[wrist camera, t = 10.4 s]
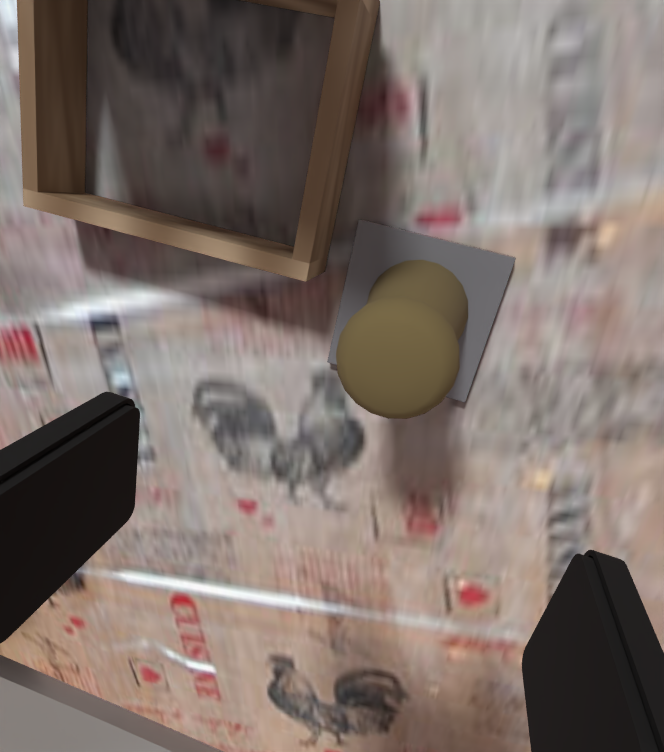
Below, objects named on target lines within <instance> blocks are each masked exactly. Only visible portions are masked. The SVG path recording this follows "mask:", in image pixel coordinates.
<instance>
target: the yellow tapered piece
mask: <svg viewBox="0 0 664 752" xmlns="http://www.w3.org/2000/svg"><path fill="white" fill-rule="evenodd" d="M467 319H468V299H467V296H466V293H465V291H464V288H463V285H462V284H461V283H460V281H459V280H458V279H457V278H456V276H455V275H454V274H453V273H452V272H451V271H449V270H448V269H446V268H445V267H443V266H441V265H440V264H438V263H434V262H430V261H426V260H409V261H404V262H401V263H399V264H396V265H394V266H391V267H390V268H389V269H387V270H386V271H385V272H384V273H383V274H382V275H380V276H379V277H378V278H377V280H376V282H375V283H374V285H373V287H372V288H371V290H370V292H369V297H368V301H367V304H366V305H365V306H364V307H363V308H362V309H360V310H359V311H358V312H357V313H356V314H354V315H353V316H352V317H351V318H350V319H349V321H348V322H347V324H346V326H345V327H344V329H343V331H342V332H341V334H340V337H339V341H338V346H337V350H336V361H337V371H338V375H339V378H340V380H341V382H342V385H343V387H344V389H345V391H346V392H347V393H348V394H349V395H350V397H351V398H352V399H353V400H354V401H355V402H356V403H357V404H358V405H360V406H361V407H363V408H364V409H366V410H367V411H369V412H370V413H373V414H376V415H379V416H382V417H386V418H395V419H407V418H411V417H414V416H418V415H421V414H425V413H426V412H428V411H429V410H431V409H432V408H434V407H435V406H437V405H438V404H439V403H440V402H441V401H442V400H443V399H444V398H445V396H446V395H447V394H448V393H449V391H450V390H451V389H452V387H453V386H454V383H455V380H456V377H457V374H458V372H459V369H460V362H459V343H458V340H459V338H460V337H461V335H462V333H463V331H464V328H465V325H466V322H467Z"/></svg>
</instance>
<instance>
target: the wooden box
mask: <svg viewBox="0 0 664 752" xmlns="http://www.w3.org/2000/svg"><path fill="white" fill-rule="evenodd" d="M240 1H246V2H251V3H257V4H262V5H268V6H273V7H279V8H284V9H290V10H295V11H301V12H306V13H312V14H317V15H323V16H328V17H334V18H335V20H334V25H333V31H332V37H331V42H330V48H329V53H328V59H327V65H326V70H325V76H324V82H323V87H322V93H321V99H320V104H319V110H318V116H317V121H316V127H315V133H314V138H313V144H312V150H311V155H310V161H309V166H308V172H307V178H306V183H305V189H304V195H303V200H302V206H301V212H300V217H299V223H298V229H297V234H296V240H295V246H294V247H293V246H290V245H286V244H282V243H278V242H274V241H270V240H266V239H262V238H259V237H255V236H251V235H247V234H243V233H239V232H235V231H231V230H228V229H224V228H220V227H216V226H212V225H208V224H204V223H200V222H197V221H193V220H189V219H185V218H181V217H177V216H173V215H169V214H166V213H162V212H158V211H154V210H150V209H146V208H142V207H139V206H135V205H131V204H127V203H123V202H119V201H115V200H111V199H108V198H104V197H100V196H96V195H92V194H88V193H85V157H86V85H87V13H88V0H17V17H18V48H19V79H20V110H21V141H22V172H23V203H24V206H26V207H29V208H33V209H37V210H41V211H44V212H48V213H52V214H55V215H59V216H63V217H67V218H70V219H74V220H78V221H82V222H85V223H89V224H93V225H96V226H100V227H104V228H108V229H111V230H115V231H119V232H123V233H126V234H130V235H134V236H137V237H141V238H145V239H149V240H152V241H156V242H160V243H164V244H167V245H171V246H175V247H178V248H182V249H186V250H190V251H193V252H197V253H201V254H205V255H208V256H212V257H216V258H219V259H223V260H227V261H231V262H234V263H238V264H242V265H246V266H249V267H253V268H257V269H260V270H264V271H268V272H272V273H275V274H279V275H283V276H287V277H290V278H294V279H298V280H301V281H305V282H307V281H308V280H310V279H312V278H314V277H316V276H317V275H319V274H321V273H323V272H325V268H326V263H327V258H328V253H329V248H330V244H331V239H332V234H333V229H334V224H335V219H336V214H337V209H338V204H339V200H340V195H341V190H342V185H343V180H344V175H345V170H346V165H347V160H348V156H349V151H350V146H351V141H352V136H353V131H354V126H355V121H356V116H357V112H358V107H359V102H360V97H361V92H362V87H363V82H364V77H365V73H366V68H367V63H368V58H369V53H370V48H371V43H372V38H373V33H374V29H375V24H376V19H377V14H378V9H379V4H380V1H379V0H240Z"/></svg>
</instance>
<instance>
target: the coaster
mask: <svg viewBox="0 0 664 752" xmlns="http://www.w3.org/2000/svg"><path fill="white" fill-rule="evenodd" d="M515 259H516V258H515V257H513V256H509V255H505V254H501V253H497V252H493V251H489V250H484V249H480V248H476V247H472V246H468V245H464V244H460V243H456V242H452V241H448V240H443V239H439V238H435V237H431V236H427V235H423V234H419V233H415V232H411V231H407V230H403V229H398V228H394V227H390V226H386V225H382V224H378V223H374V222H370V221H366V220H362V219H360V220H359V222H358V226H357V231H356V235H355V240H354V244H353V249H352V253H351V258H350V262H349V267H348V271H347V276H346V280H345V285H344V289H343V294H342V298H341V303H340V307H339V312H338V316H337V321H336V325H335V330H334V334H333V339H332V343H331V348H330V352H329V357H328V361H327V362H329V363H332V364H335V365H337V361H336V350H337V346H338V341H339V337H340V334H341V332H342V331H343V329H344V327H345V326H346V324H347V322H348V321H349V319H350V318H351V317H352V316H353V315H354V314H356V313H357V312H358V311H359V310H360V309H362V308H363V307H364V306H365V305H366V304H367V301H368V297H369V292H370V290H371V288H372V287H373V285H374V283H375V282H376V280H377V278H378V277H379V276H380V275H382V274H383V273H384V272H385V271H386V270H387V269H389V268H390V267H391V266H394V265H396V264H399V263H401V262H404V261H409V260H426V261H430V262H434V263H438V264H440V265H441V266H443V267H445V268H446V269H448V270H449V271H451V272H452V273H453V274H454V275H455V276H456V278H457V279H458V280H459V281H460V283H461V284H462V285H463V288H464V291H465V293H466V296H467V299H468V319H467V322H466V325H465V328H464V331H463V333H462V335H461V337H460V338H459V340H458V343H459V362H460V369H459V372H458V374H457V377H456V380H455V383H454V386H453V387H452V389H451V390H450V391H449V393H448V394H447V395H446V396H445V397H448V398H452V399H455V400H459V401H462V402H465V401H466V398H467V395H468V392H469V390H470V387H471V384H472V381H473V378H474V375H475V372H476V370H477V367H478V364H479V361H480V358H481V355H482V353H483V350H484V347H485V344H486V341H487V338H488V336H489V333H490V330H491V327H492V324H493V321H494V319H495V316H496V313H497V310H498V307H499V304H500V302H501V299H502V296H503V293H504V290H505V287H506V284H507V282H508V279H509V276H510V273H511V270H512V267H513V265H514V262H515Z"/></svg>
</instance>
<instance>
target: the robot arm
mask: <svg viewBox="0 0 664 752" xmlns="http://www.w3.org/2000/svg"><path fill="white" fill-rule="evenodd" d="M139 423H140V412H139V409H138V408H136V407H135V404H134V401H133V400H132V399H129V398H126V397H123V396H120V395H117V394H114V393H111V392H104V393H102V394H100V395H98V396H96V397H95V398H93V399H91V400H89V401H87V402H86V403H84V404H82V405H80V406H78V407H77V408H75V409H73V410H71V411H69V412H68V413H66V414H64V415H62V416H61V417H59V418H57V419H55V420H53V421H52V422H50V423H48V424H46V425H44V426H43V427H41V428H39V429H37V430H35V431H34V432H32V433H30V434H28V435H27V436H25V437H23V438H21V439H19V440H18V441H16V442H14V443H12V444H10V445H9V446H7V447H5V448H3V449H1V450H0V643H2V642H3V641H5V640H6V639H7V638H8V637H9V636H10V635H11V634H13V633H14V632H15V631H16V630H17V629H18V628H19V627H20V626H21V625H22V624H23V623H24V622H25V621H26V620H27V619H28V618H29V617H30V616H31V615H32V614H33V613H34V612H35V611H36V610H37V609H38V608H39V607H40V606H41V605H42V604H43V603H44V602H45V601H46V600H47V599H48V598H49V597H50V596H51V595H52V594H53V593H54V592H56V591H57V590H58V589H59V588H60V587H61V586H62V585H63V584H64V583H65V582H66V581H67V580H68V579H69V578H70V577H71V576H72V575H73V574H74V573H75V572H76V571H77V570H78V569H79V568H80V567H81V566H82V565H83V564H84V563H85V562H86V561H87V560H88V559H89V558H90V557H91V556H92V555H93V554H94V553H95V552H96V551H97V550H99V549H100V548H101V547H102V546H103V545H104V544H105V543H106V542H107V541H108V540H109V539H110V538H111V537H112V536H113V535H114V534H115V533H116V532H117V531H118V530H119V529H120V528H121V527H122V526H123V525H124V524H125V523H126V522H127V521H128V520H129V518H130V517H131V515H132V513H133V510H134V507H135V493H136V476H137V458H138V440H139ZM522 673H523V682H524V690H525V699H526V708H527V717H528V726H529V734H530V743H531V752H664V653H663V650H662V648H661V646H660V643H659V641H658V639H657V636H656V634H655V632H654V629H653V627H652V624H651V622H650V620H649V617H648V615H647V613H646V610H645V608H644V606H643V603H642V601H641V598H640V596H639V594H638V591H637V589H636V587H635V584H634V582H633V579H632V577H631V575H630V572H629V570H628V568H627V565H626V564H625V562H624V561H623V560H621V559H618V558H615V557H612V556H609V555H606V554H603V553H600V552H597V551H594V550H588V551H587V552H586V553H585V554H584V555H581V554H576V555H575V556H574V557H573V559H572V560H571V562H570V564H569V566H568V568H567V570H566V572H565V574H564V575H563V577H562V579H561V581H560V583H559V585H558V587H557V589H556V591H555V592H554V594H553V596H552V598H551V600H550V602H549V604H548V606H547V608H546V609H545V611H544V613H543V615H542V617H541V619H540V621H539V623H538V625H537V627H536V628H535V630H534V632H533V634H532V636H531V638H530V640H529V642H528V644H527V645H526V648H525V650H524V653H523V658H522ZM0 752H223V751H221V750H219V749H217V748H214V747H212V746H210V745H207V744H205V743H203V742H201V741H198V740H196V739H194V738H191V737H189V736H187V735H184V734H182V733H180V732H178V731H175V730H173V729H171V728H168V727H166V726H164V725H162V724H159V723H157V722H155V721H152V720H150V719H148V718H145V717H143V716H141V715H139V714H136V713H134V712H132V711H129V710H127V709H125V708H123V707H120V706H118V705H116V704H113V703H111V702H109V701H106V700H104V699H102V698H99V697H97V696H95V695H92V694H90V693H88V692H85V691H83V690H81V689H78V688H76V687H74V686H71V685H69V684H67V683H64V682H62V681H60V680H57V679H55V678H53V677H50V676H48V675H46V674H43V673H41V672H39V671H36V670H34V669H32V668H29V667H27V666H25V665H22V664H20V663H18V662H15V661H13V660H11V659H9V658H6V657H4V656H2V655H0Z"/></svg>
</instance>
